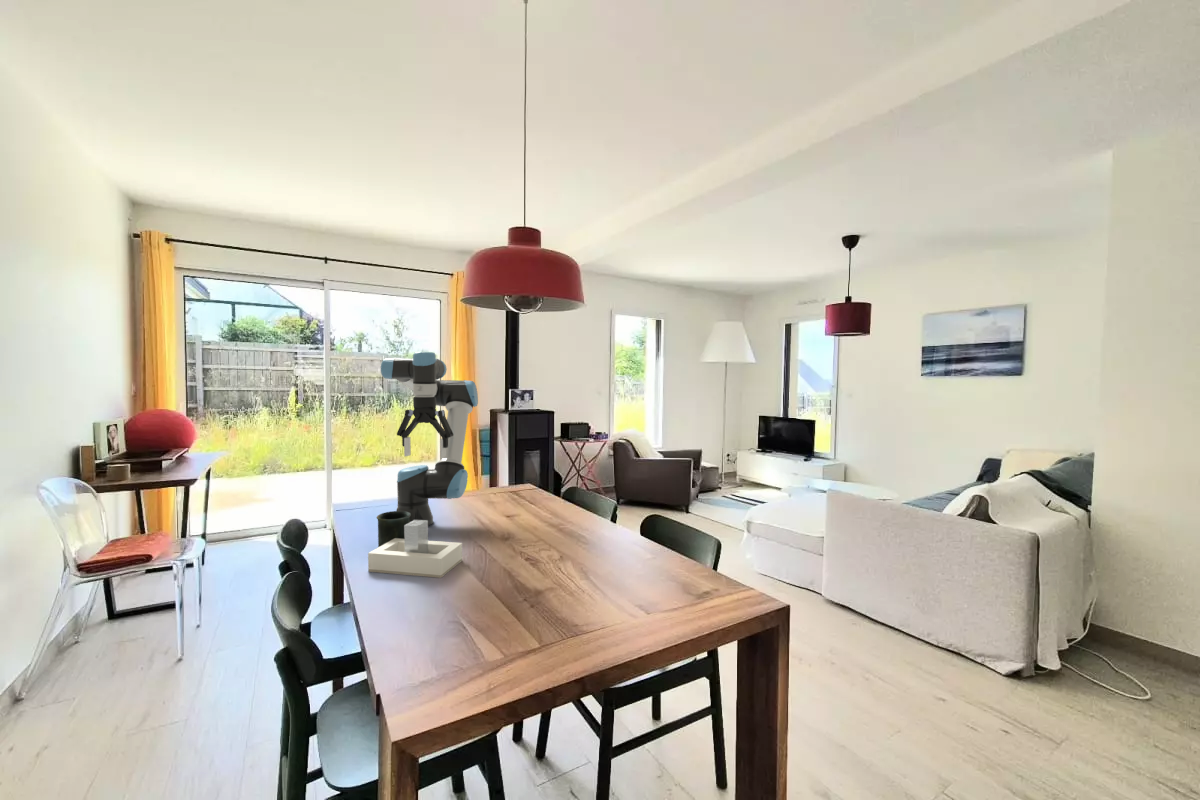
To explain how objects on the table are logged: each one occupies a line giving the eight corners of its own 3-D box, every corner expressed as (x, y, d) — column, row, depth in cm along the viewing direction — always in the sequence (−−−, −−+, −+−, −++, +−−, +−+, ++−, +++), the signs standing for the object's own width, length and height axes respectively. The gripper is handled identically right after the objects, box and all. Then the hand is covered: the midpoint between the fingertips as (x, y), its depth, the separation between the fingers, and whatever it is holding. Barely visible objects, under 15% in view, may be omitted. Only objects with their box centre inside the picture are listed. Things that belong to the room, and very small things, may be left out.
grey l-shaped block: (415, 559, 158) (414, 519, 157) (442, 561, 156) (442, 521, 156) (404, 566, 152) (404, 525, 152) (433, 568, 150) (432, 527, 150)
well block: (395, 555, 164) (394, 538, 163) (462, 560, 160) (462, 543, 159) (368, 571, 150) (368, 553, 150) (441, 577, 146) (440, 558, 145)
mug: (386, 557, 162) (385, 521, 161) (367, 547, 171) (366, 513, 171) (417, 549, 170) (416, 515, 169) (397, 539, 179) (396, 507, 179)
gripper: (385, 396, 170) (386, 456, 171) (452, 397, 165) (453, 459, 166) (398, 395, 177) (399, 453, 178) (462, 396, 173) (463, 456, 174)
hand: (425, 456), depth 172 cm, fingers open, 13 cm apart
